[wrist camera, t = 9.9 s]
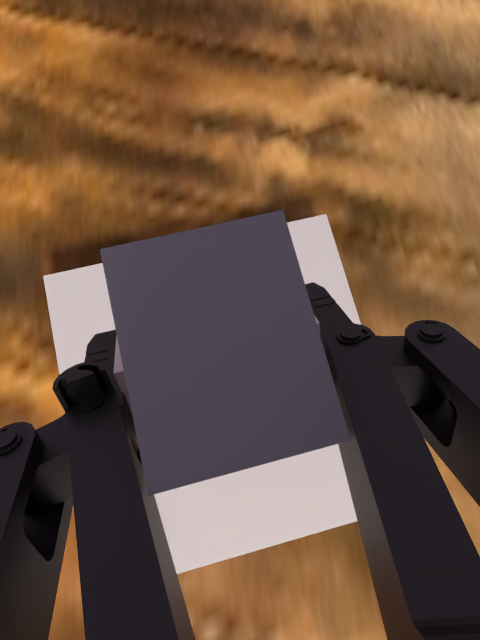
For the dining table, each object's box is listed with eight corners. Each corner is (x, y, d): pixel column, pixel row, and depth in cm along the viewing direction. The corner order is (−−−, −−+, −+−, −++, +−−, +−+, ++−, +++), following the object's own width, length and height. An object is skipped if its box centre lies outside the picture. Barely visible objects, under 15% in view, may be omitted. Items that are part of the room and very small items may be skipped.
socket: (56, 285, 32) (38, 272, 29) (318, 227, 34) (328, 209, 31) (107, 580, 28) (92, 603, 25) (401, 495, 30) (422, 506, 27)
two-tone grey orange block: (167, 336, 19) (99, 249, 9) (248, 316, 20) (283, 210, 9) (190, 442, 18) (148, 495, 8) (276, 420, 19) (350, 440, 8)
